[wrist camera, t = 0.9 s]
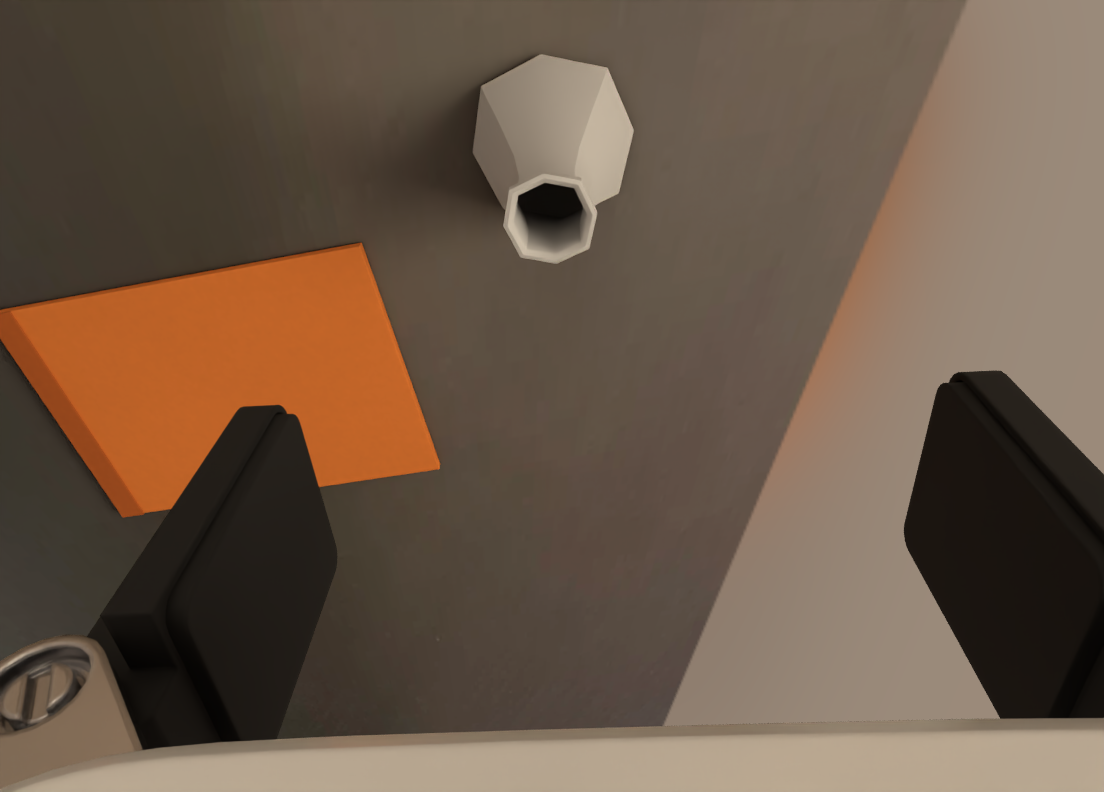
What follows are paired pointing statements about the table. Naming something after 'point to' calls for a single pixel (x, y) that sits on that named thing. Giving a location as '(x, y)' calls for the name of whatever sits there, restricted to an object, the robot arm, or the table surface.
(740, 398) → the table surface
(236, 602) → the robot arm
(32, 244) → the table surface
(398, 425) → the orange rectangular board
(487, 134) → the flask
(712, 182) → the table surface
